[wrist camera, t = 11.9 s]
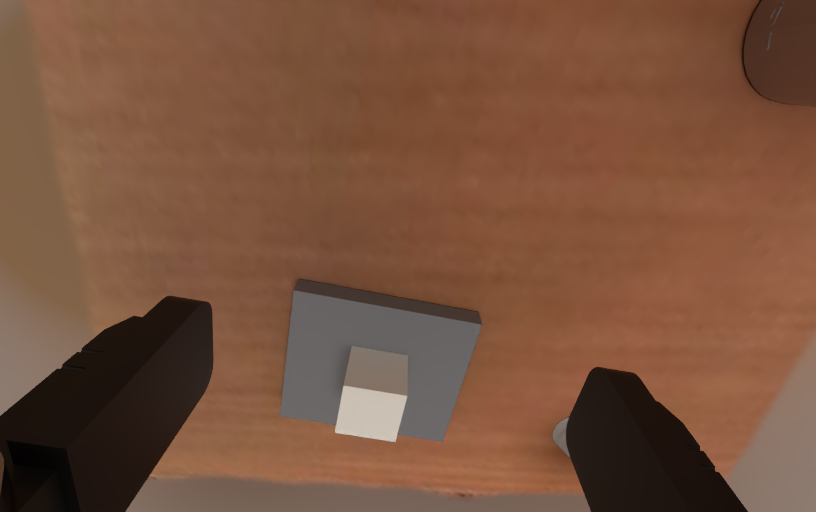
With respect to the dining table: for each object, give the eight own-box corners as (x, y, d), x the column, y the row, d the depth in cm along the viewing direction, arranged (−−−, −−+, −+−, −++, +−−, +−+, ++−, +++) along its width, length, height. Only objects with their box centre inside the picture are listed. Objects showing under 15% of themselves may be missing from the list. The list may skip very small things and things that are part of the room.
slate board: (478, 312, 37) (481, 324, 36) (441, 425, 43) (442, 441, 41) (299, 279, 36) (293, 290, 34) (285, 400, 42) (279, 415, 40)
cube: (407, 355, 37) (407, 396, 32) (397, 398, 39) (395, 441, 34) (351, 345, 36) (343, 385, 32) (343, 389, 38) (334, 432, 34)
